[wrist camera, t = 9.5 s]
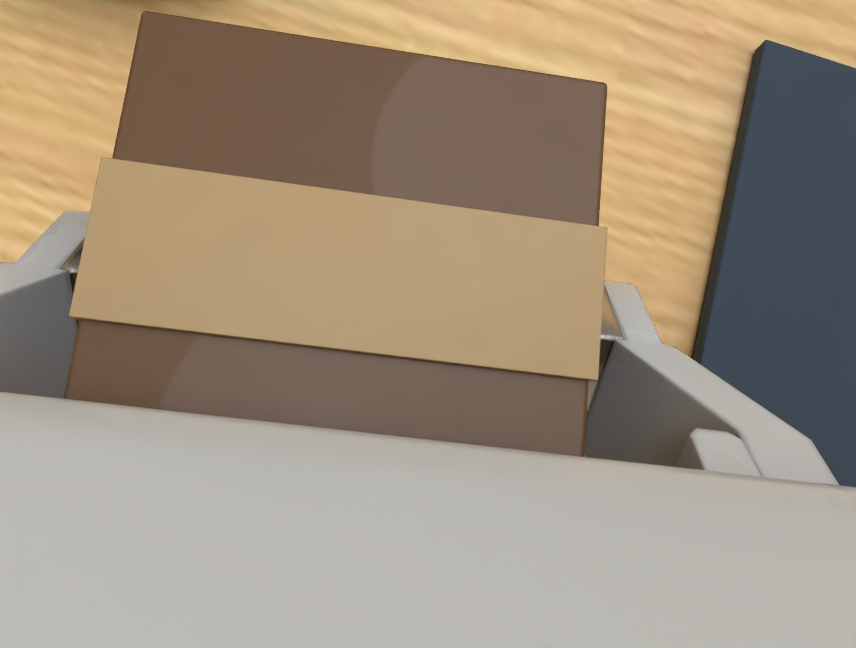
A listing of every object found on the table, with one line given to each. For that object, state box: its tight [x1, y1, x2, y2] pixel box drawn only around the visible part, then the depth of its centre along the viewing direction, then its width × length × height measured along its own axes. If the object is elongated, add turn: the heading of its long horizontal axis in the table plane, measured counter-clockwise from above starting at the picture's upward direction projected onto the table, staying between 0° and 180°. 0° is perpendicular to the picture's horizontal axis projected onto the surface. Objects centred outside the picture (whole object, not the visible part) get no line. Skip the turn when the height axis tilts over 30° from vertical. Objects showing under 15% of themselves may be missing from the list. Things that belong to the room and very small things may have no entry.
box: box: [64, 11, 607, 457], centre depth 11 cm, size 5×5×8 cm
